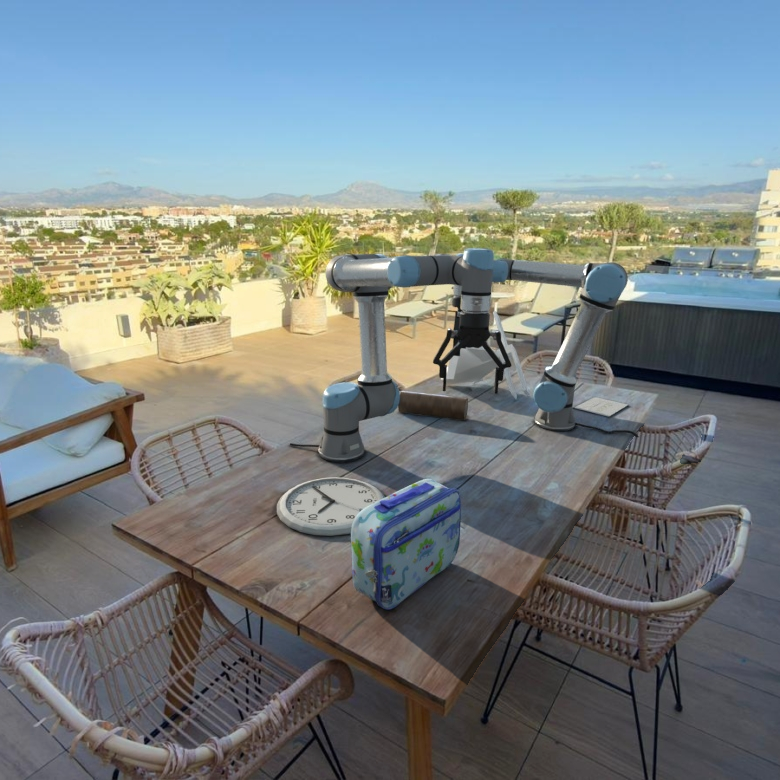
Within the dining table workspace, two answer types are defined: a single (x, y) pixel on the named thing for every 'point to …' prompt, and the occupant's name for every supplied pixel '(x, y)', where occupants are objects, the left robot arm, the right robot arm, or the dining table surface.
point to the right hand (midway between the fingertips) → (459, 351)
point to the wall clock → (326, 505)
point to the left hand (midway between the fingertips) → (469, 391)
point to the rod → (433, 405)
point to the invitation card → (601, 406)
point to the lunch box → (405, 541)
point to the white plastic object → (483, 364)
